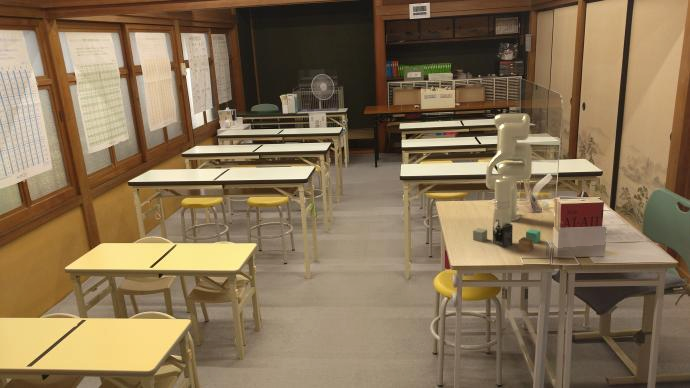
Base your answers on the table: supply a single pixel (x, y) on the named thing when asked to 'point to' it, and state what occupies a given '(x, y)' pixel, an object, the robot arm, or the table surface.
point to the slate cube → (480, 234)
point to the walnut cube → (526, 244)
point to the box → (504, 236)
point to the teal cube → (533, 235)
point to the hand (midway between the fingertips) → (502, 238)
